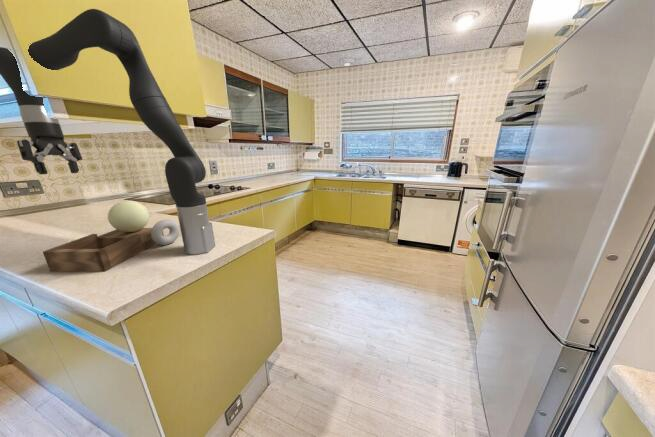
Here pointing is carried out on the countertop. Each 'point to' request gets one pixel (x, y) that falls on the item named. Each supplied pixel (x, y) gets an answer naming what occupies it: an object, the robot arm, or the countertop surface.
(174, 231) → the donut
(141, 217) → the melon
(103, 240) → the wooden serving tray
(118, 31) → the robot arm
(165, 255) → the countertop surface
